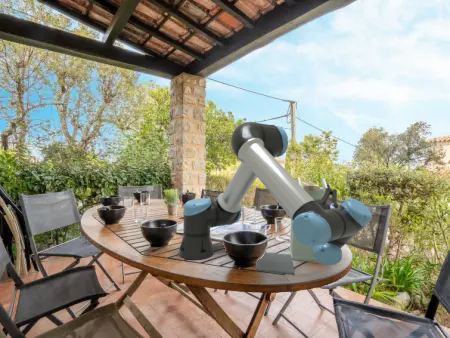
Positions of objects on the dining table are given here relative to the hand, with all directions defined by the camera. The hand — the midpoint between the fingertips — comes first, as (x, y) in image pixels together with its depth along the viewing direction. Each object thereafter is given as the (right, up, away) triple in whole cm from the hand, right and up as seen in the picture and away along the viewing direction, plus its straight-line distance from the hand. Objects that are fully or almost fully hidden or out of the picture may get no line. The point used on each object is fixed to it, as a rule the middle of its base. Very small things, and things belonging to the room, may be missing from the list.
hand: (310, 180), depth 98 cm
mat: (-15, -33, 0) cm, 36 cm away
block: (+1, -3, +3) cm, 5 cm away
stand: (+1, -33, +9) cm, 34 cm away
